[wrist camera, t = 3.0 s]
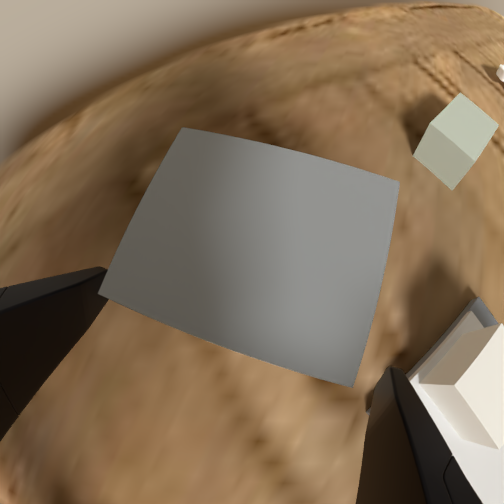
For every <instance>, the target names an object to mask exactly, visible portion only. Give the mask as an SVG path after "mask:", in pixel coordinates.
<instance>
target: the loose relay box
mask: <svg viewBox="0 0 504 504" xmlns="http://www.w3.org/2000/svg"><path fill="white" fill-rule="evenodd" d="M498 126H499V125H498V124H497V123H496V122H495V121H494V120H493V119H491V118H490V117H489V116H488V115H487V114H486V113H485V112H483V111H482V110H481V109H480V108H479V107H478V106H476V105H475V104H474V103H473V102H471V101H470V100H469V99H468V98H466V97H465V96H464V95H463V94H461V93H459V94H458V95H457V96H456V97H455V98H454V99H453V100H452V102H451V103H450V104H449V105H448V106H447V107H446V108H445V109H444V110H443V111H442V112H441V113H440V114H439V115H438V116H437V117H436V118H435V119H434V120H433V121H431V122H430V124H429V126H428V128H427V130H426V132H425V134H424V136H423V137H422V139H421V141H420V143H419V145H418V147H417V149H416V151H415V153H414V154H413V156H414V157H415V158H416V159H417V160H418V161H420V162H421V163H422V164H423V165H424V166H425V167H426V168H428V169H429V170H430V171H431V172H432V173H433V174H434V175H436V176H437V177H438V178H439V179H440V180H441V181H442V182H443V183H444V184H445V185H446V186H448V187H449V188H450V189H451V190H453V189H454V188H455V187H456V185H457V184H458V183H459V182H460V180H461V179H462V178H463V177H464V175H465V174H466V173H467V172H468V170H469V169H470V168H471V167H472V165H473V164H474V163H475V161H476V160H477V158H478V157H479V155H480V154H481V152H482V151H483V149H484V148H485V146H486V145H487V143H488V142H489V140H490V139H491V137H492V136H493V134H494V132H495V131H496V129H497V128H498Z"/></svg>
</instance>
